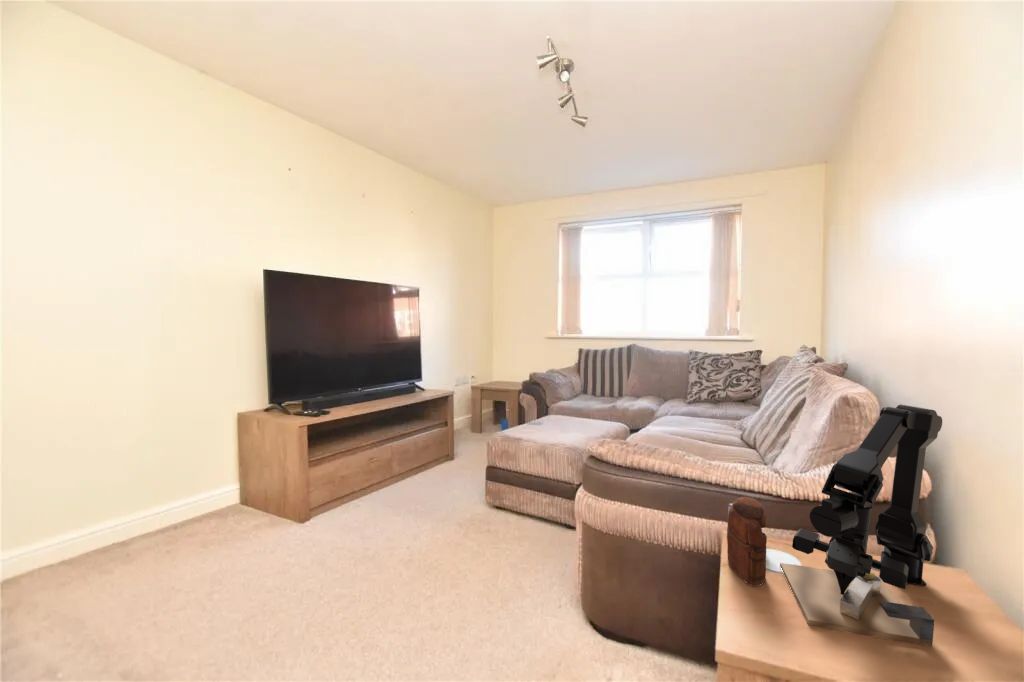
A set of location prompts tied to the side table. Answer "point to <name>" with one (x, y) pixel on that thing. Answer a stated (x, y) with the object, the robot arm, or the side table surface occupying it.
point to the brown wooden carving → (747, 540)
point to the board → (822, 606)
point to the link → (859, 596)
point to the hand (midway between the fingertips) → (842, 593)
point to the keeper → (912, 618)
